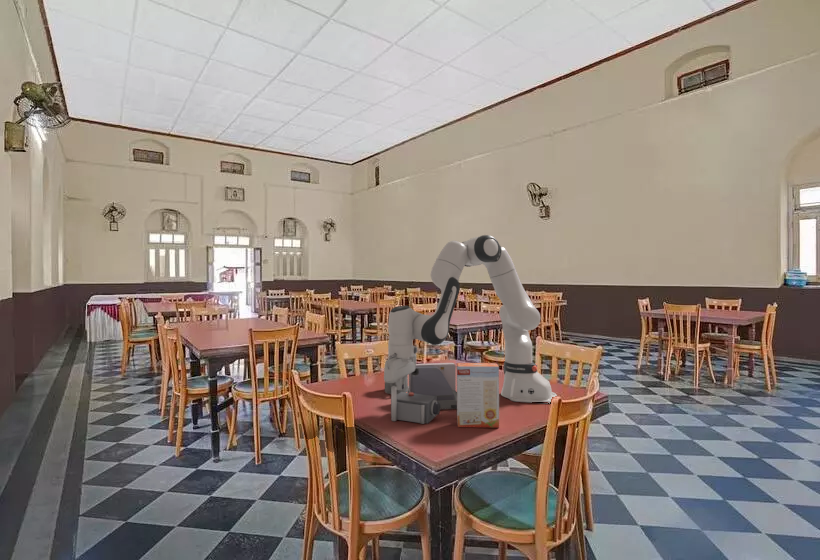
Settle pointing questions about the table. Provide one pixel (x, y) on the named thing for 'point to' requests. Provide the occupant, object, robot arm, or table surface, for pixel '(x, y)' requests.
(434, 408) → the camera box
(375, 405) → the table surface
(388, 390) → the coffee mug
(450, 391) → the instant camera
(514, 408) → the table surface
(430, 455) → the table surface
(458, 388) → the cracker box
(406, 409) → the side door
